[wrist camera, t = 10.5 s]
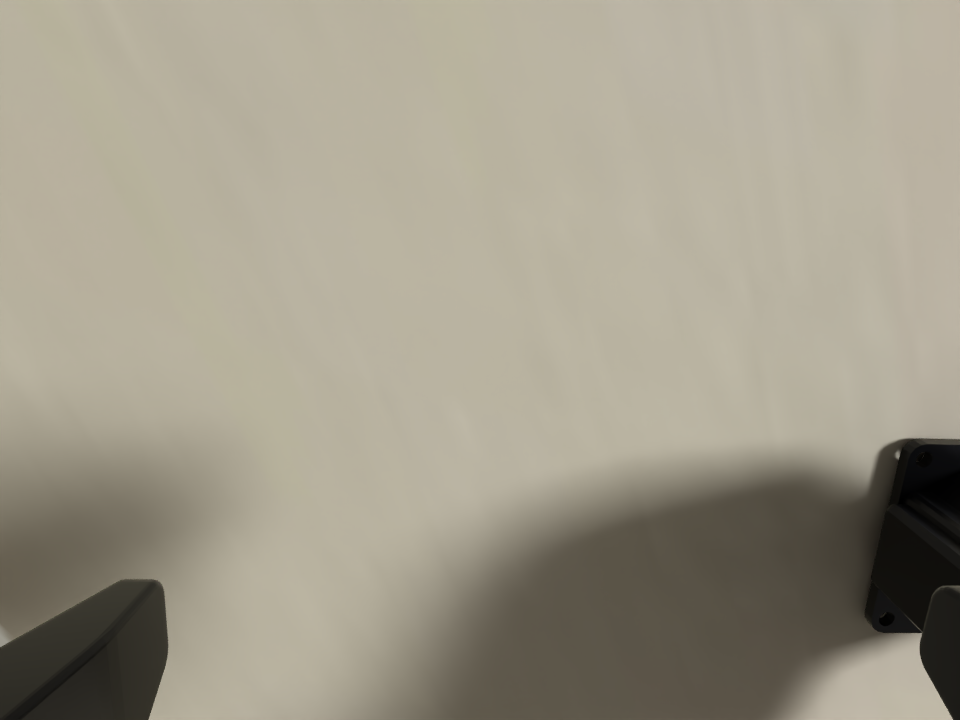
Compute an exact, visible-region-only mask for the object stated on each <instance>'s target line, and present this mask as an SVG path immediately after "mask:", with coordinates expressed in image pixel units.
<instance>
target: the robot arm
mask: <svg viewBox="0 0 960 720" xmlns="http://www.w3.org/2000/svg"><path fill="white" fill-rule="evenodd" d="M922 452H924V456H923V458H922V459H921V460H919V461H917V462H916V459H917V457H918V455H919V454H921V453H922ZM871 580H872V582H871V586H870V591H869V595H868V600H867V604H866V609H865V618H866V620H867V621H868V623H869V624H870V625H871V626H872V627H873V628H874V629H875V630H877V631H878V632H883V633H922V637H921V641H920V656H921V660H922V663H923V666H924V668H925V670H926V672H927V674H928V675H929V677H930V679H931V681H932V682H933V684H934V686H935V688H936V690H937V691H938V693H939V695H940V697H941V699H942V700H943V702H944V704H945V706H946V708H947V709H948V711H949V713H950V715H951V716H952V718H953V720H960V440H946V439H916V440H912V441H910V442H908V443H907V444H906V445H905V446H904V447H903V449H902V451H901V453H900V457H899V462H898V466H897V471H896V475H895V480H894V484H893V489H892V493H891V497H890V502H889V506H888V509H887V511H886V513H885V518H884V522H883V527H882V531H881V536H880V540H879V545H878V549H877V554H876V558H875V562H874V567H873V571H872V576H871ZM884 613H886V615H885V616H884V617H882V618H880V616H881V615H882V614H884ZM167 655H168V634H167V621H166V608H165V595H164V589H163V586H162V584H161V583H160V582H159V581H158V580H153V579H125V580H120V581H118V582H116V583H115V584H113V585H111V586H109V587H108V588H106V589H104V590H102V591H100V592H99V593H97V594H95V595H93V596H91V597H90V598H88V599H86V600H84V601H82V602H81V603H79V604H77V605H75V606H74V607H72V608H70V609H68V610H66V611H65V612H63V613H61V614H59V615H57V616H56V617H54V618H52V619H50V620H48V621H47V622H45V623H43V624H41V625H40V626H38V627H36V628H34V629H32V630H31V631H29V632H27V633H25V634H23V635H22V636H20V637H18V638H16V639H14V640H13V641H11V642H9V643H7V644H6V645H4V646H2V647H0V720H149V716H150V713H151V710H152V707H153V704H154V701H155V697H156V694H157V691H158V688H159V685H160V682H161V679H162V675H163V672H164V669H165V666H166V661H167Z"/></svg>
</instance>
